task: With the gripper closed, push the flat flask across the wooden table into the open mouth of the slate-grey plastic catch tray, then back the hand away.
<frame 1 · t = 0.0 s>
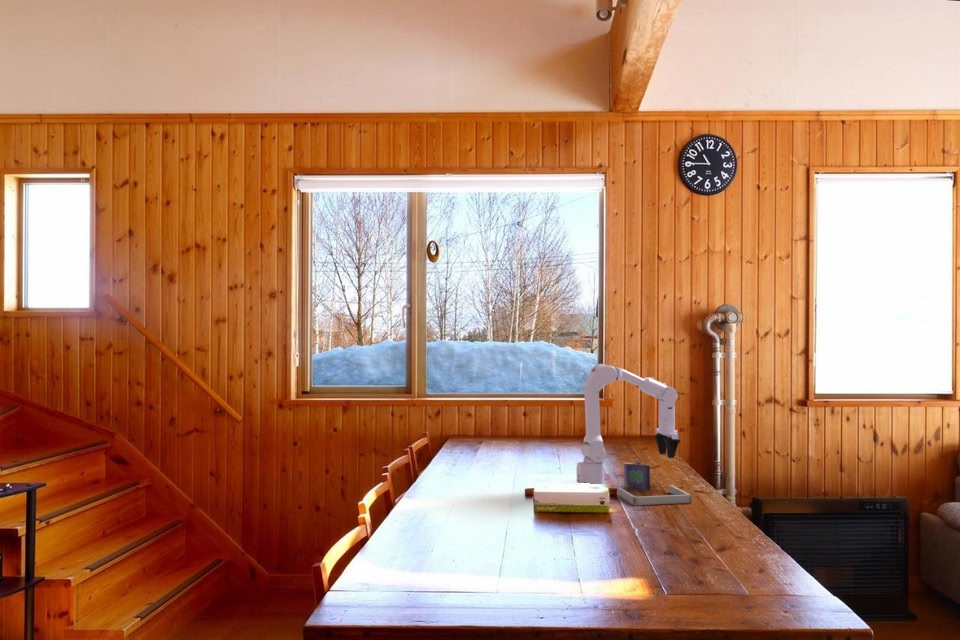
hand: (666, 455, 270), 10 cm above the table, tool pointing down, fingers open, 7 cm apart
flask: (636, 489, 262), on the table
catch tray: (652, 498, 248), on the table
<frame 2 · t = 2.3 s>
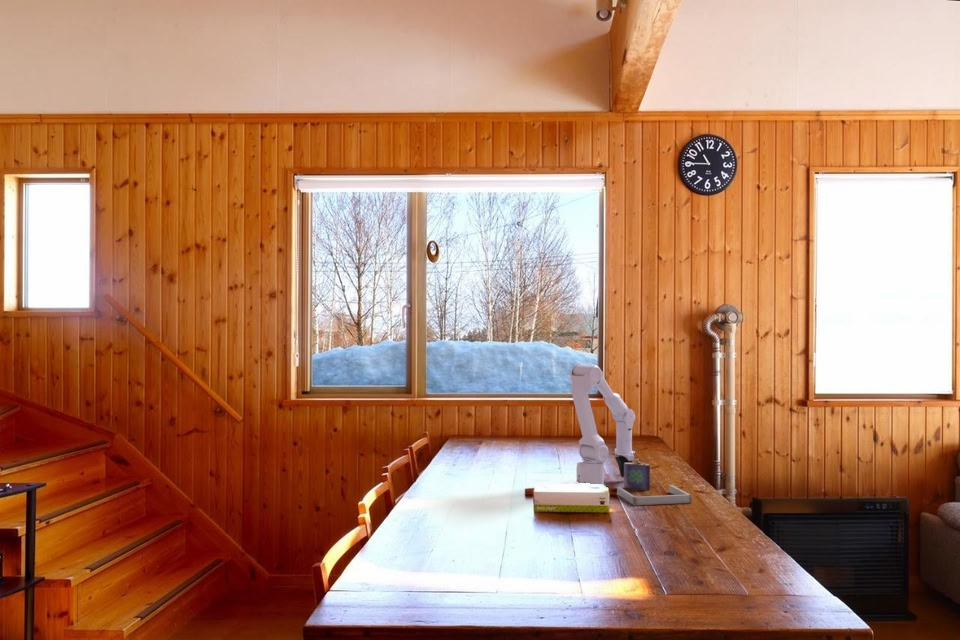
hand: (624, 476, 274), 2 cm above the table, tool pointing down, fingers closed
nothing on the table moved.
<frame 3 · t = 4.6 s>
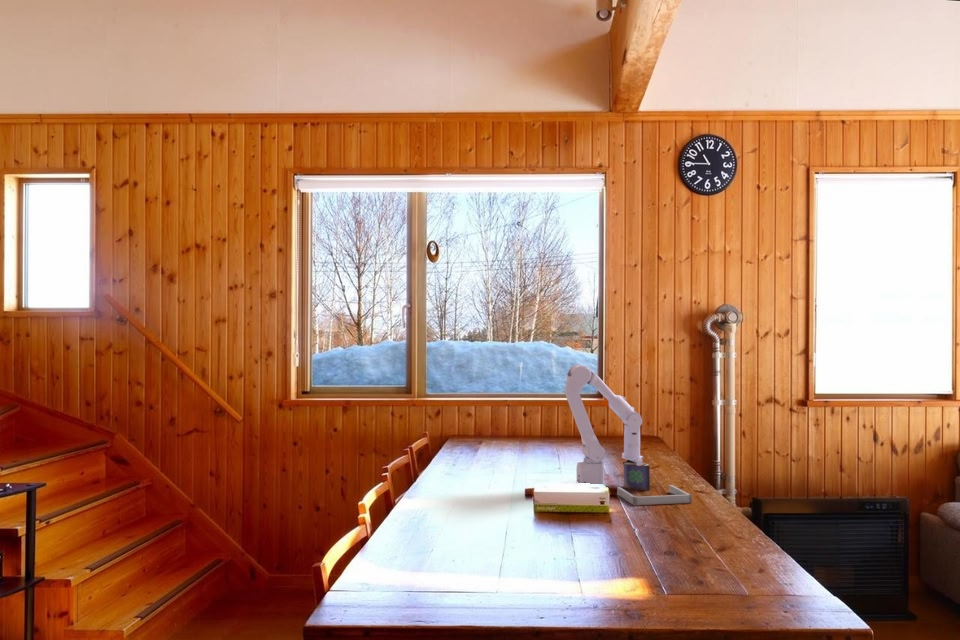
hand: (632, 481, 266), 1 cm above the table, tool pointing down, fingers closed
nothing on the table moved.
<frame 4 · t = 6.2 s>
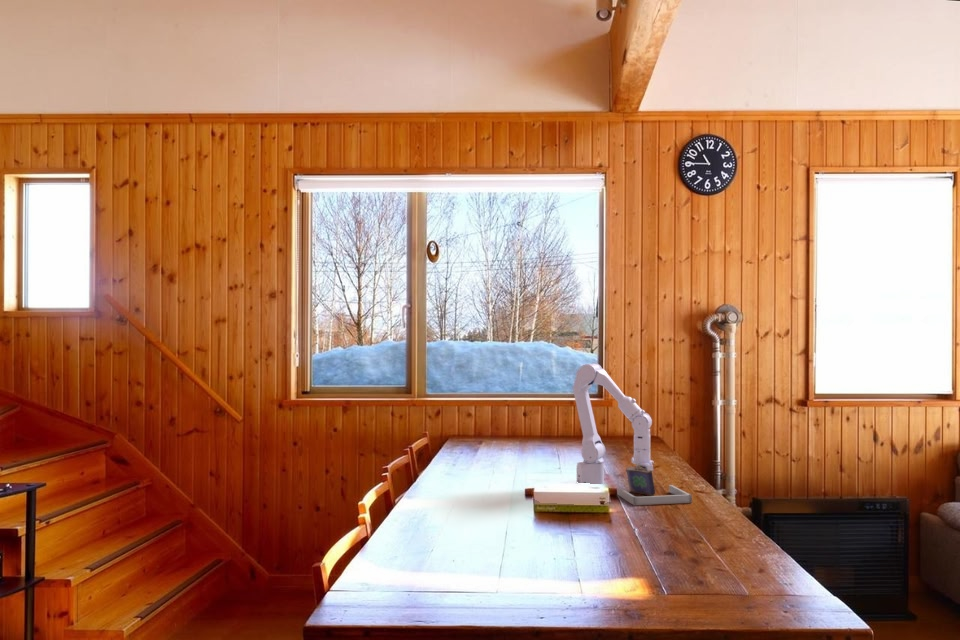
hand: (642, 487, 257), 1 cm above the table, tool pointing down, fingers closed, pressing on flask
flask: (642, 492, 255), on the table, touching gripper
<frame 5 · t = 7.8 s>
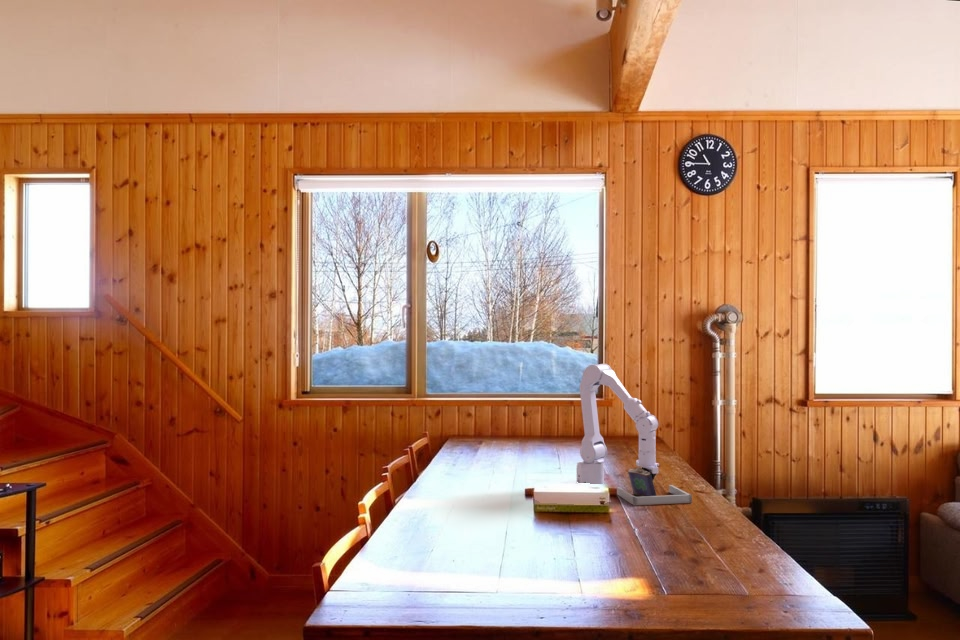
hand: (647, 490, 253), 1 cm above the table, tool pointing down, fingers closed
flask: (645, 495, 251), on the table, touching gripper
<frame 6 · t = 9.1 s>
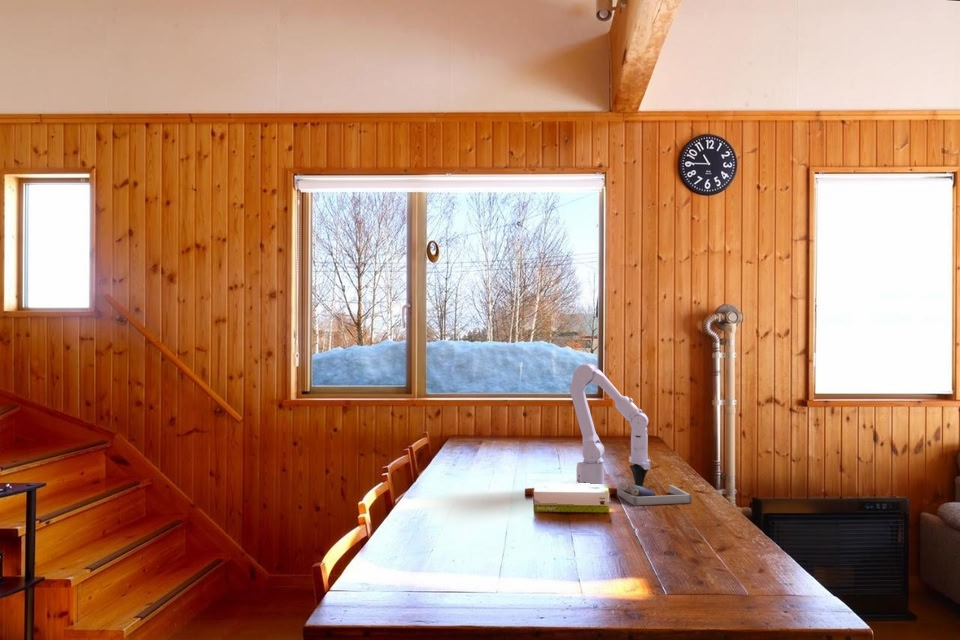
hand: (639, 486, 259), 1 cm above the table, tool pointing down, fingers closed
flask: (645, 492, 250), point 2 cm above the table, touching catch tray
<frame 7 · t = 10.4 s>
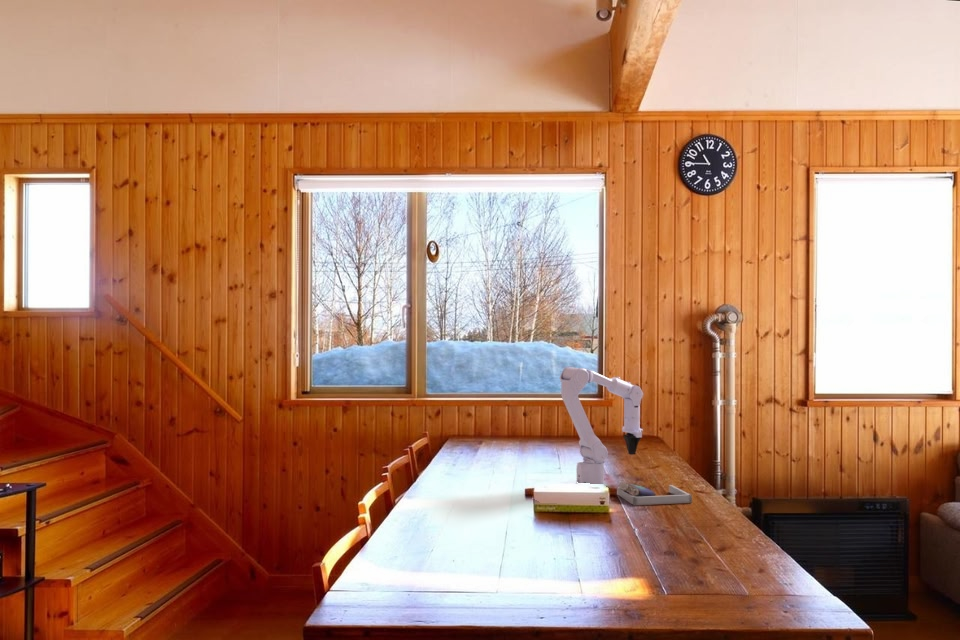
hand: (631, 454, 272), 10 cm above the table, tool pointing down, fingers closed
nothing on the table moved.
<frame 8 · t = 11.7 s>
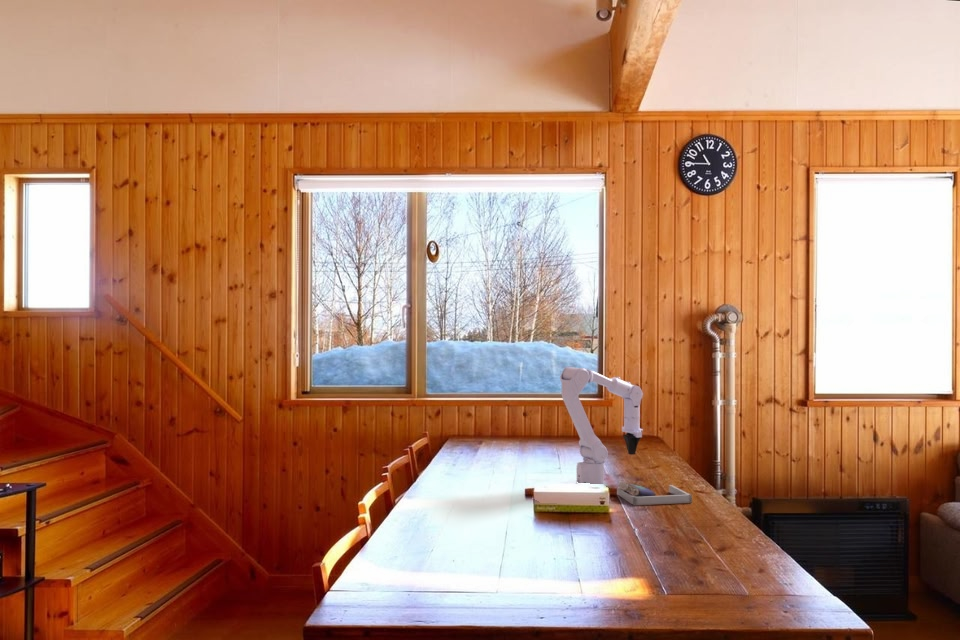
hand: (631, 454, 272), 10 cm above the table, tool pointing down, fingers closed
nothing on the table moved.
at the end: flask inside the target area on the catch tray (3.2 cm from its centre), point 1.6 cm above the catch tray's base; flask moved 11.9 cm from its start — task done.
